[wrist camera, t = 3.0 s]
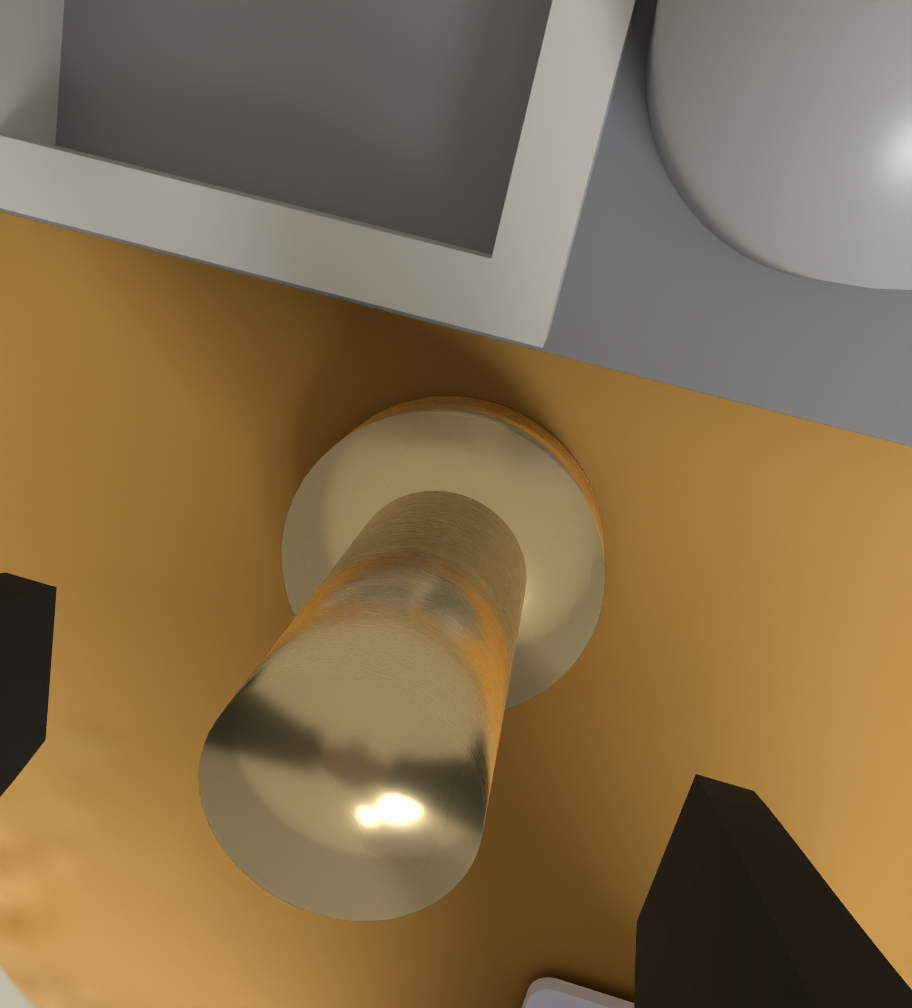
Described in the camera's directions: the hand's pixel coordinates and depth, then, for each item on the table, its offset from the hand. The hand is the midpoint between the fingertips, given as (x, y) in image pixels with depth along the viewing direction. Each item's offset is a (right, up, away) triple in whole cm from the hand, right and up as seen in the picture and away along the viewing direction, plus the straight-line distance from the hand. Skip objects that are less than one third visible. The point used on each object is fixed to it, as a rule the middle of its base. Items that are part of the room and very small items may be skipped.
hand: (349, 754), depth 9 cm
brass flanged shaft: (+1, +2, +6) cm, 7 cm away
